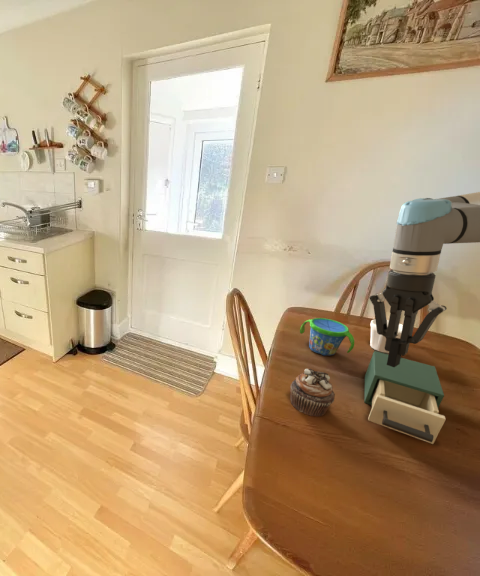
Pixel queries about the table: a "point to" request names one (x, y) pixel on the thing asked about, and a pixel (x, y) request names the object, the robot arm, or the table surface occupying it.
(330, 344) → the snack cup
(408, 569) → the table surface
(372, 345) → the cup
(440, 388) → the cabinet
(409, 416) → the drawer
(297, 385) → the cupcake
